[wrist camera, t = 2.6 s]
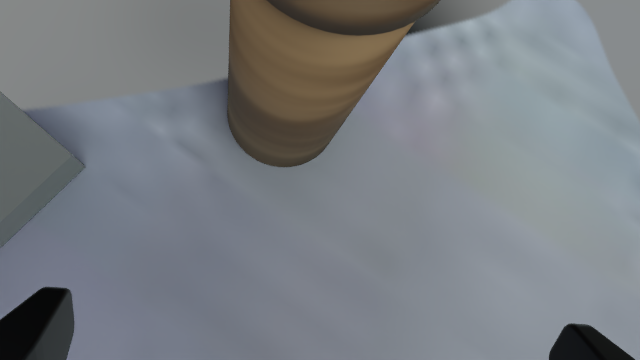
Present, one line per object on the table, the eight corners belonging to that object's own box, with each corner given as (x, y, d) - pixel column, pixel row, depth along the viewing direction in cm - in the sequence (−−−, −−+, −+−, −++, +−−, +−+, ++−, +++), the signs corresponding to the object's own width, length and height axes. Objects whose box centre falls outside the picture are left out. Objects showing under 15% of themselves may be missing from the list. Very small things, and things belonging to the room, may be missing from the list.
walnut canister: (288, 195, 24) (376, 65, 10) (197, 115, 24) (163, -121, 10) (363, 112, 25) (527, -100, 12) (277, 37, 25) (340, -263, 12)
